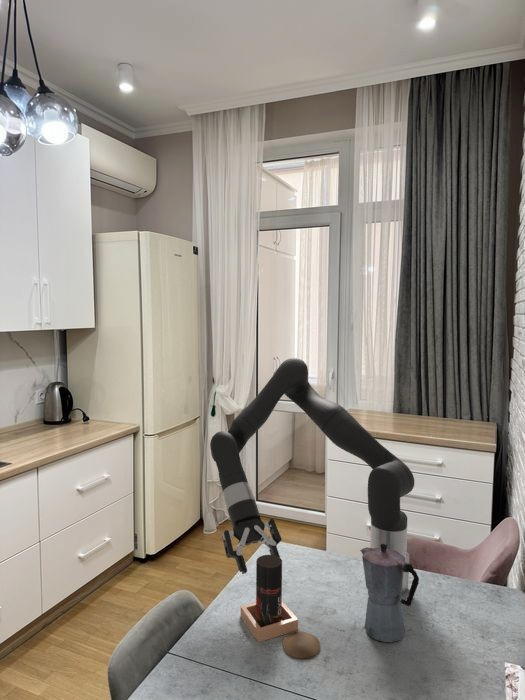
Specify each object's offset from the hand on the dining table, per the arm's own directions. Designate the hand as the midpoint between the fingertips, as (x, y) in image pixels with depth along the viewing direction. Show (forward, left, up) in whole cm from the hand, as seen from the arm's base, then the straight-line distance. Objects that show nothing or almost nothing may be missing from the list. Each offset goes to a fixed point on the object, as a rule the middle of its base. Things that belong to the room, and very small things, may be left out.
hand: (261, 568), depth 116 cm
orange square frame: (0, +5, -11) cm, 12 cm away
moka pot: (-23, +19, -11) cm, 32 cm away
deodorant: (0, +5, -11) cm, 12 cm away
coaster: (-3, +15, -11) cm, 19 cm away
